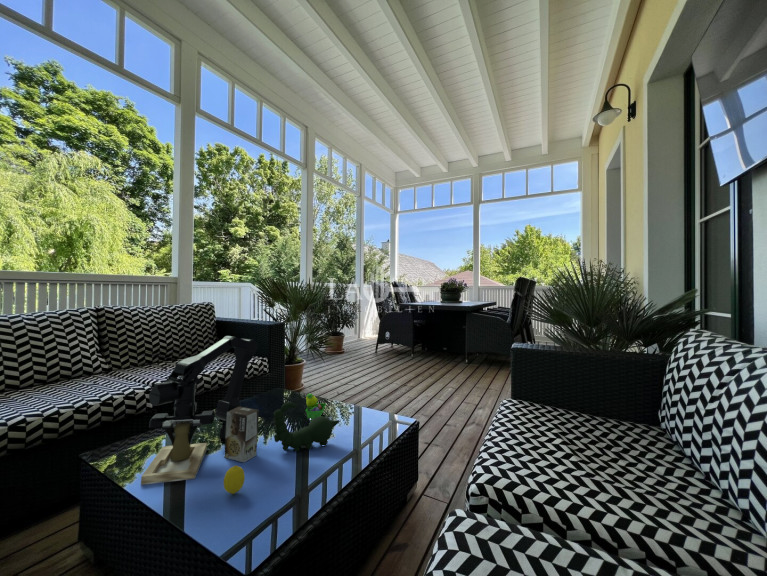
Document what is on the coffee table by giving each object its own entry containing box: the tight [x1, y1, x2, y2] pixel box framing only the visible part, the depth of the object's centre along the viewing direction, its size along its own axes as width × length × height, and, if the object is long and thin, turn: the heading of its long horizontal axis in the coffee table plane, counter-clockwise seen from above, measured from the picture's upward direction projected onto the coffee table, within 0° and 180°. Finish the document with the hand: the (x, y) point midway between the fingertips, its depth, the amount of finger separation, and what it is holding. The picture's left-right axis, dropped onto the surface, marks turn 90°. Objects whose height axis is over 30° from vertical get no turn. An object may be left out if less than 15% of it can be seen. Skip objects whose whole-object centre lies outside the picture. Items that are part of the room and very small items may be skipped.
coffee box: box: [224, 406, 260, 463], centre depth 116 cm, size 9×6×16 cm
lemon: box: [223, 465, 246, 495], centre depth 94 cm, size 6×6×8 cm
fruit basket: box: [305, 393, 327, 419], centre depth 157 cm, size 11×9×11 cm
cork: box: [170, 421, 192, 460], centre depth 111 cm, size 6×6×11 cm
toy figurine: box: [272, 401, 340, 452], centre depth 125 cm, size 9×19×25 cm
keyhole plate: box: [140, 442, 208, 486], centre depth 107 cm, size 14×20×2 cm
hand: (181, 444), depth 111 cm, fingers closed on cork, 4 cm apart
